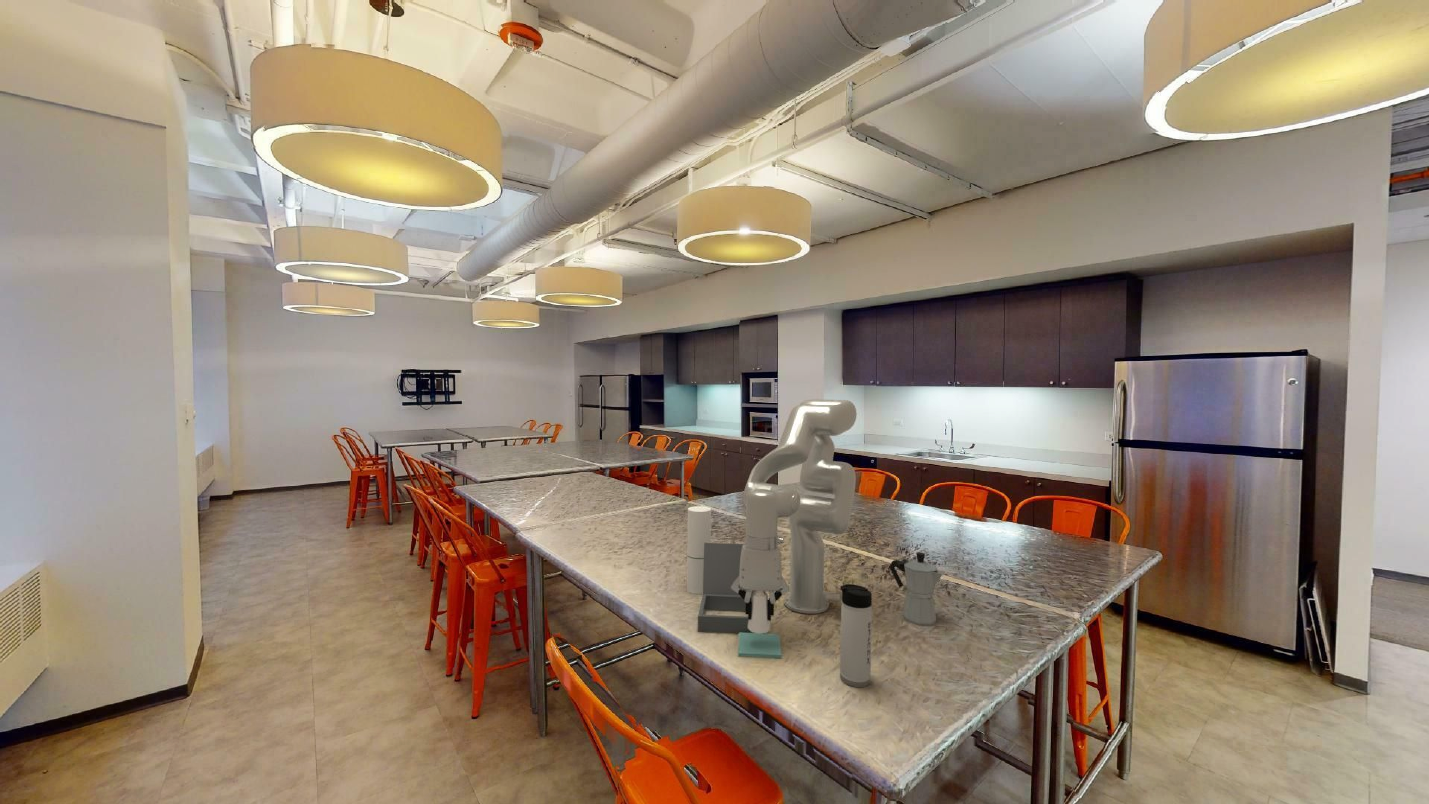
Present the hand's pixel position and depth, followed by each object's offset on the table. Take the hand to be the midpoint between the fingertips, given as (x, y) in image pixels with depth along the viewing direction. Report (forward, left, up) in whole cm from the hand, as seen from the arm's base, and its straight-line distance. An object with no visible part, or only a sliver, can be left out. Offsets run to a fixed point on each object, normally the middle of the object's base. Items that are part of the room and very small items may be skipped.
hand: (759, 616), depth 122 cm
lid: (+7, -21, +4) cm, 23 cm away
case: (+7, -13, -7) cm, 17 cm away
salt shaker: (0, 0, -3) cm, 3 cm away
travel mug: (-20, +12, -7) cm, 25 cm away
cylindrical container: (+18, -33, -7) cm, 38 cm away
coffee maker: (-43, -20, -7) cm, 48 cm away
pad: (0, 0, -7) cm, 7 cm away
